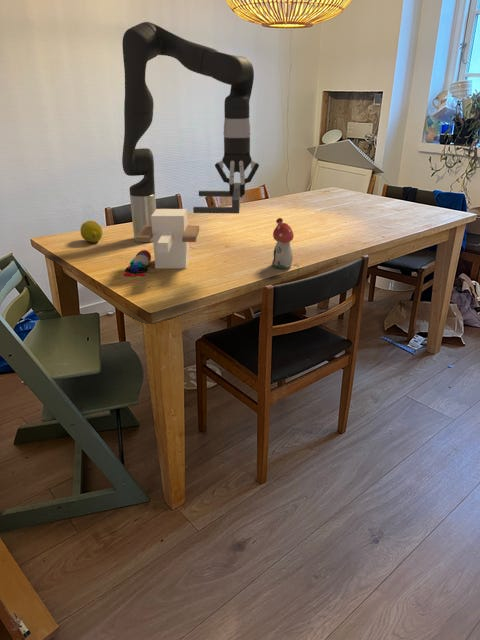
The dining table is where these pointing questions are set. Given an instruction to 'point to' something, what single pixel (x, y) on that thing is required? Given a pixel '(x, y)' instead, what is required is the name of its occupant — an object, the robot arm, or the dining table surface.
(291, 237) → the decorative ornament
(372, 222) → the dining table surface
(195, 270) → the dining table surface
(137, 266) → the toy figure
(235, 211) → the grey u-shaped bracket
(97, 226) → the lemon
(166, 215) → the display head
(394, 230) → the dining table surface
